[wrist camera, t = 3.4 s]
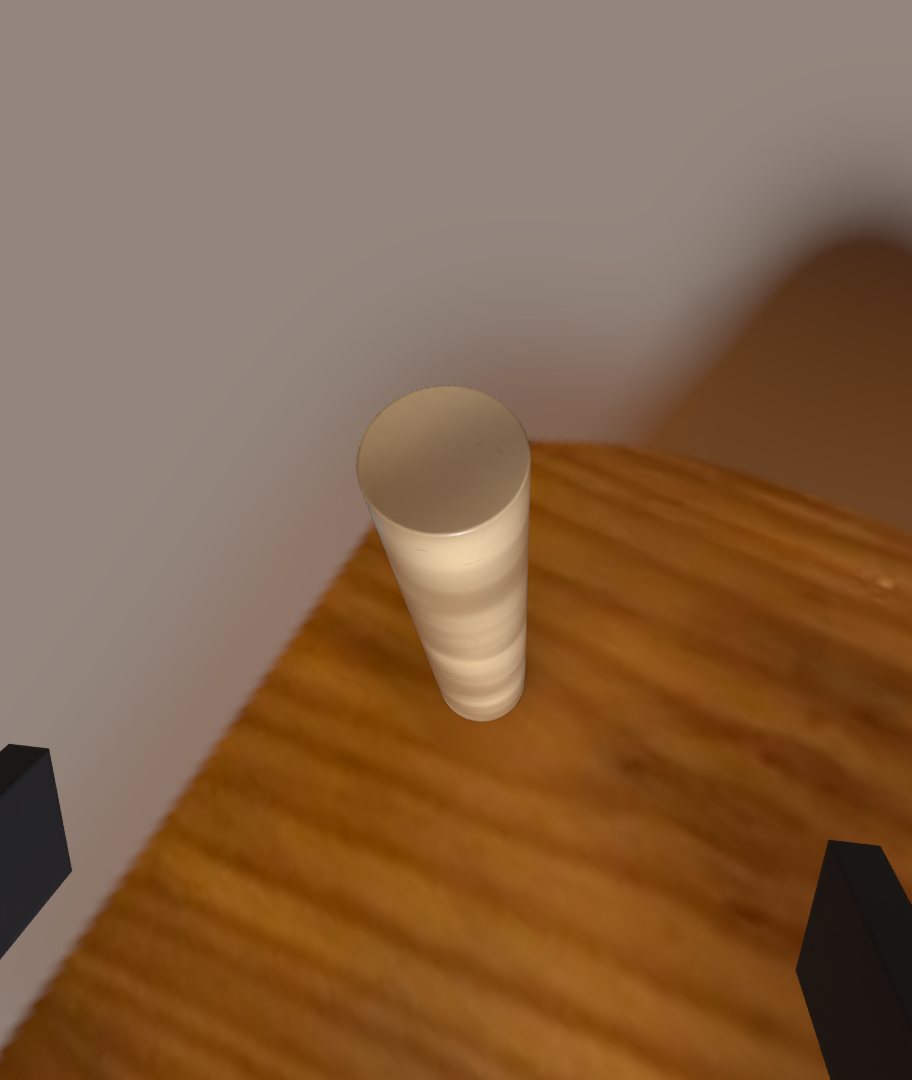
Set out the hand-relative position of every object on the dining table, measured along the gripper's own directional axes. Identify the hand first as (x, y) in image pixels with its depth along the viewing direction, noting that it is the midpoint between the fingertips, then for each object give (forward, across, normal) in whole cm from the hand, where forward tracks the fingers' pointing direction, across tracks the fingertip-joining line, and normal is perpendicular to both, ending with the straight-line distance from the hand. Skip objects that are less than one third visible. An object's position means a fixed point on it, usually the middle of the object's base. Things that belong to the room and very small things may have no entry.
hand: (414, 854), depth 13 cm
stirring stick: (+15, 0, -5) cm, 15 cm away
